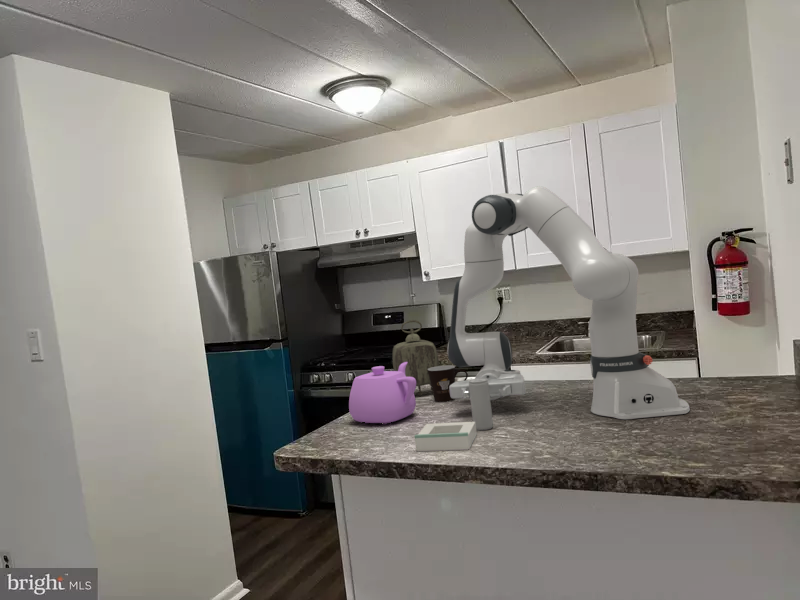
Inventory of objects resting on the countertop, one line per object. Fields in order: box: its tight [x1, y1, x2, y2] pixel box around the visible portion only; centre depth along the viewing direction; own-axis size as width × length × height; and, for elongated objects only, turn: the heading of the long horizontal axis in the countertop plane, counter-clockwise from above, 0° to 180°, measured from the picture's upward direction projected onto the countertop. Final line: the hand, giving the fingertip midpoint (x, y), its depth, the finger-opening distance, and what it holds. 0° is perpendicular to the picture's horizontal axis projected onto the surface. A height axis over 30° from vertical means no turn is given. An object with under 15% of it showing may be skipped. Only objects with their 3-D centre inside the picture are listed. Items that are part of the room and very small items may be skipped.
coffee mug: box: [428, 365, 469, 403], centre depth 181 cm, size 12×9×10 cm
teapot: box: [348, 362, 417, 425], centre depth 166 cm, size 23×21×15 cm
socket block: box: [414, 421, 478, 452], centre depth 134 cm, size 12×12×4 cm
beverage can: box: [468, 378, 494, 431], centre depth 143 cm, size 5×5×12 cm
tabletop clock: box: [391, 319, 440, 397], centre depth 193 cm, size 14×9×25 cm, turn 98°
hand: (484, 394), depth 149 cm, fingers open, 8 cm apart
